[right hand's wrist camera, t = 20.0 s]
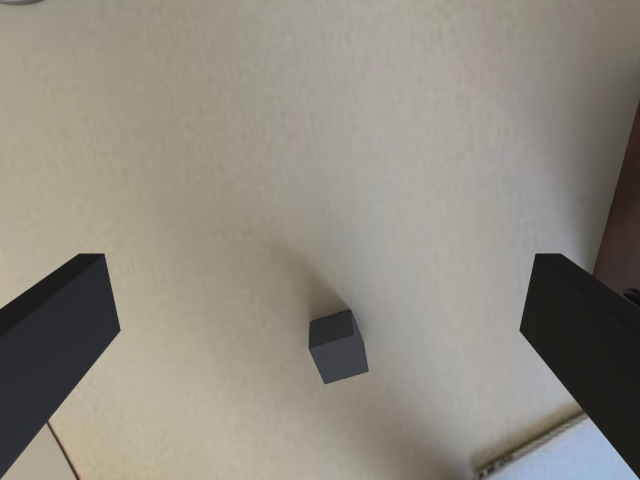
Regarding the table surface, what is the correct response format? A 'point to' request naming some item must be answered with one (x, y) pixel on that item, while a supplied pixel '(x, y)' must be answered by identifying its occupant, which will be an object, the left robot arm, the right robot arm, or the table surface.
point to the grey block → (337, 347)
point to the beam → (623, 225)
